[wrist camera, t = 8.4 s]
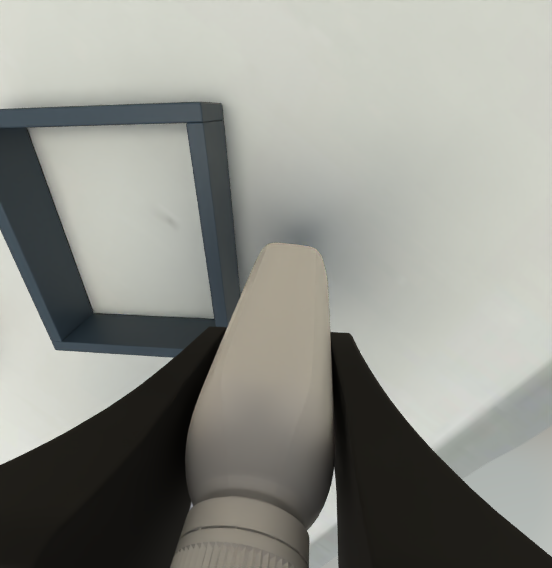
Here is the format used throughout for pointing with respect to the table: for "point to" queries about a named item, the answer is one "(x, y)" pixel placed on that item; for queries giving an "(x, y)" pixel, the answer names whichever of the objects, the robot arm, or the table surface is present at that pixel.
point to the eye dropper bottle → (264, 422)
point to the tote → (55, 250)
